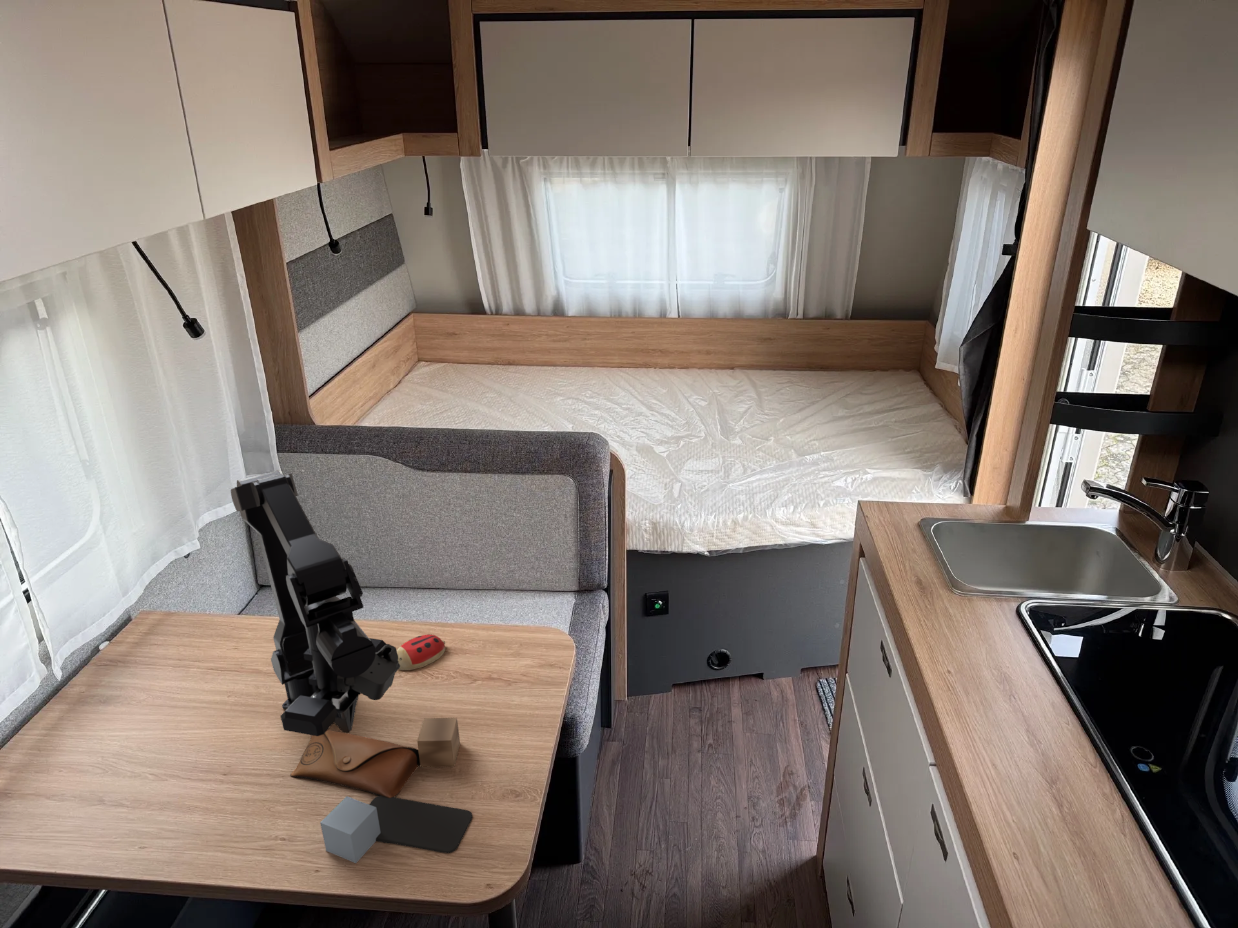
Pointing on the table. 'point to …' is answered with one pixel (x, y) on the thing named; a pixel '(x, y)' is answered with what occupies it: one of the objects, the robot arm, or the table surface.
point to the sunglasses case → (358, 763)
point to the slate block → (350, 829)
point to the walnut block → (438, 742)
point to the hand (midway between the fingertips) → (347, 730)
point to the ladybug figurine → (420, 651)
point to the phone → (420, 824)
